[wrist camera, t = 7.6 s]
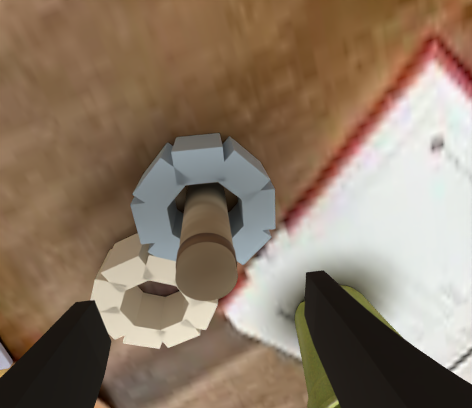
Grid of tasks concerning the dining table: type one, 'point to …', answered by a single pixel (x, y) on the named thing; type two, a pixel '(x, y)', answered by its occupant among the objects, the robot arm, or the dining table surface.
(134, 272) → the cream bead
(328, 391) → the plant pot
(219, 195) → the brown wooden peg
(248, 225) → the blue bead
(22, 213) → the dining table surface
